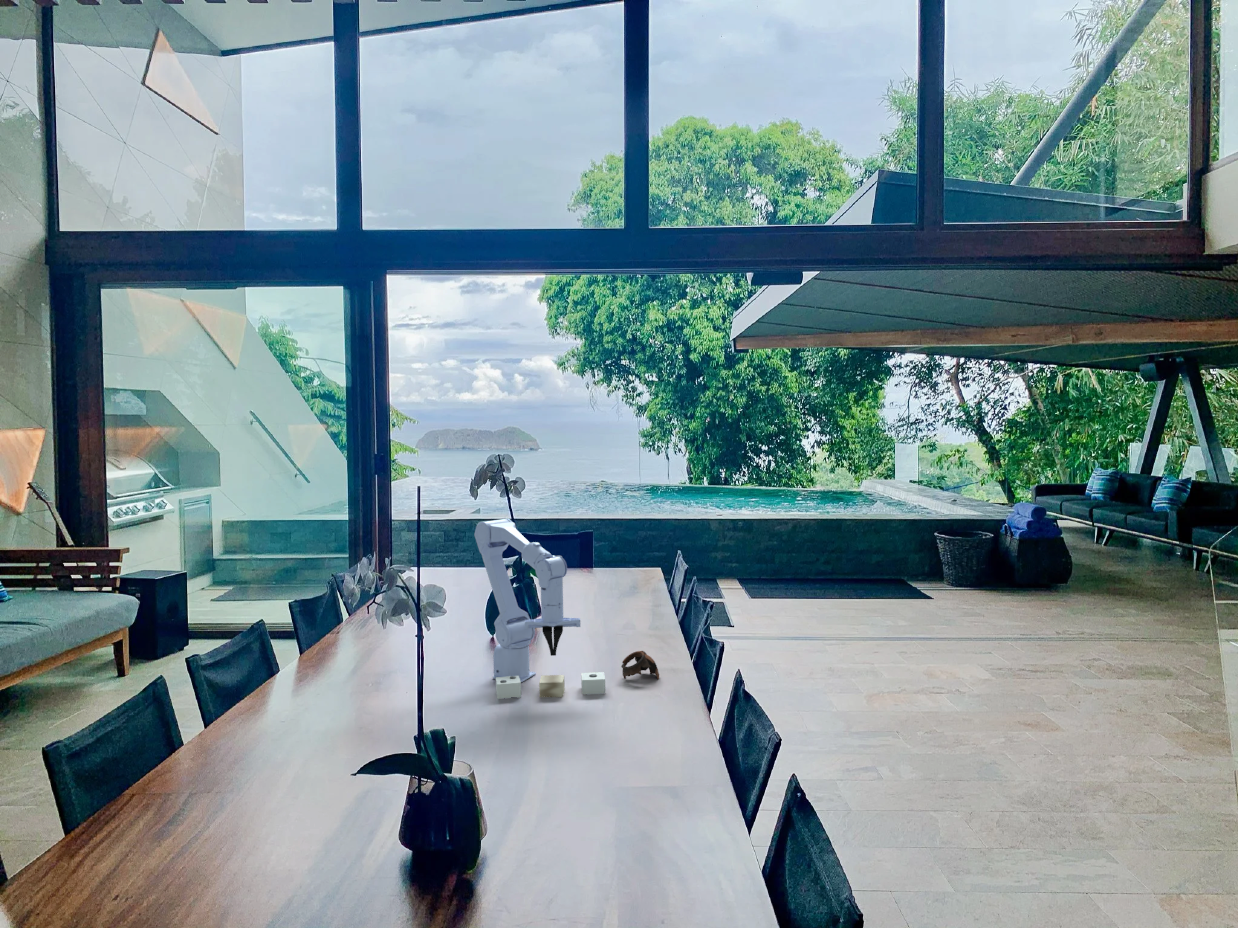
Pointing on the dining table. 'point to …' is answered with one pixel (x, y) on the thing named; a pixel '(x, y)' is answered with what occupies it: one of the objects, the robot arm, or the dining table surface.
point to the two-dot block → (508, 687)
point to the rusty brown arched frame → (639, 664)
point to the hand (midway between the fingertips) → (553, 654)
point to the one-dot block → (593, 683)
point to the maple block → (551, 686)
